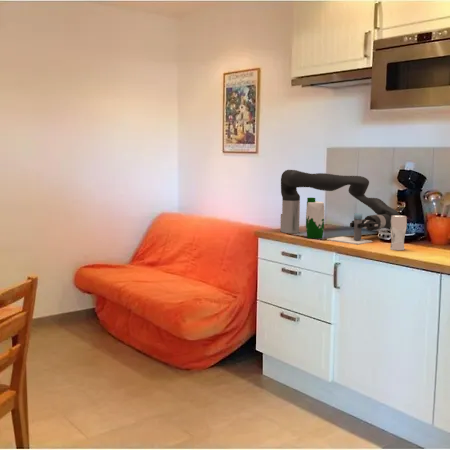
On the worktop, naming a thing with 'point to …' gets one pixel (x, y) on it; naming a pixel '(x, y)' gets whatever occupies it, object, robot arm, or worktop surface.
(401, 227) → the beer glass
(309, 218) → the milk carton
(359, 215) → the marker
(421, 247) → the worktop surface
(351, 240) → the pad
